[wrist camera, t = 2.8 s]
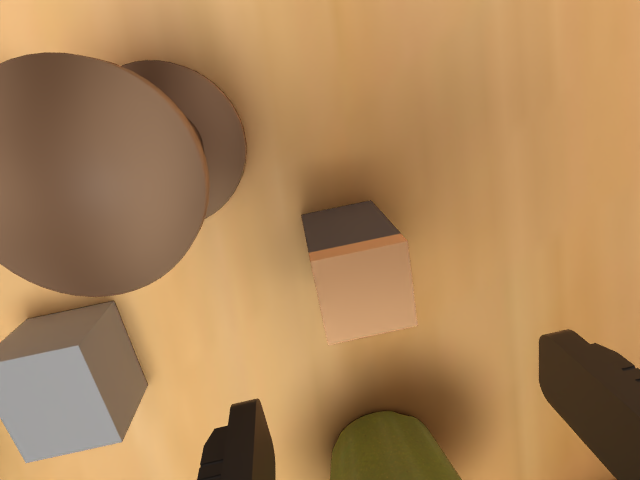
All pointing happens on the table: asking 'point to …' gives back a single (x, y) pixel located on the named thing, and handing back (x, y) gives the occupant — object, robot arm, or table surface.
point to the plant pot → (389, 450)
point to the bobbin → (109, 169)
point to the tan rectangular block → (360, 272)
